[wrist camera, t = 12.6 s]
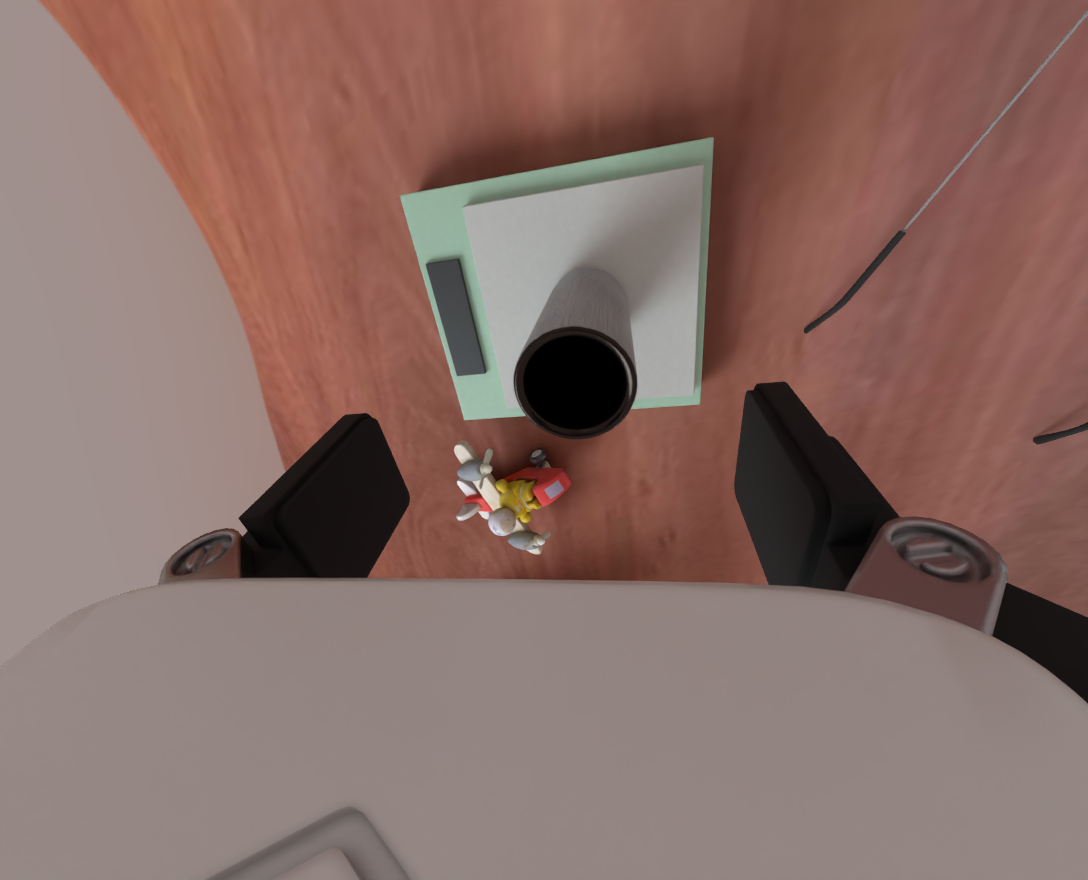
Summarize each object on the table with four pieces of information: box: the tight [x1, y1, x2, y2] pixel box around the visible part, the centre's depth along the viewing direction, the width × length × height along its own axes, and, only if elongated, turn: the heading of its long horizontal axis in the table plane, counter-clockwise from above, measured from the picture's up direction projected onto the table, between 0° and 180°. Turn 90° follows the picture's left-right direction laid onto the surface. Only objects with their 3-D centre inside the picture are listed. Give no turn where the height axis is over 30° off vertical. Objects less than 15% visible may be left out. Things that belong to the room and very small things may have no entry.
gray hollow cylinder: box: [513, 268, 637, 439], centre depth 19 cm, size 4×4×10 cm
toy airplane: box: [454, 441, 572, 554], centre depth 32 cm, size 9×9×6 cm
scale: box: [400, 137, 714, 420], centre depth 25 cm, size 14×16×3 cm
